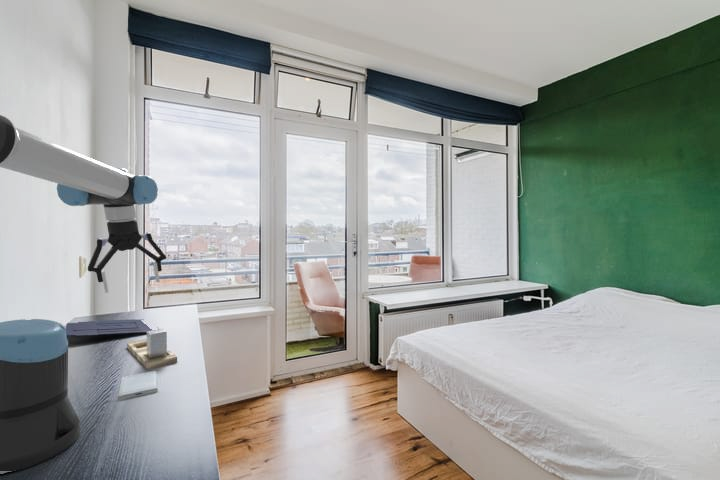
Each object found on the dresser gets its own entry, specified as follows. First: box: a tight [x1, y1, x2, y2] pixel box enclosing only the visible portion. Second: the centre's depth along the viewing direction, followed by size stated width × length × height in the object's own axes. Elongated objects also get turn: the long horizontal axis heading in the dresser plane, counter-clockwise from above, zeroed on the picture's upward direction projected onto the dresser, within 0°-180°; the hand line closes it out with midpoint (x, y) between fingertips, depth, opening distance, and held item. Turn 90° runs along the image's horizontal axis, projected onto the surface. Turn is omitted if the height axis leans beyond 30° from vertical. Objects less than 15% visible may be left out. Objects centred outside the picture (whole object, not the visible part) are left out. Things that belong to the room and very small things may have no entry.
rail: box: [126, 338, 178, 370], centre depth 109 cm, size 26×8×2 cm, turn 46°
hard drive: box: [117, 370, 159, 401], centre depth 88 cm, size 2×8×12 cm
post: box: [146, 328, 168, 360], centre depth 104 cm, size 4×4×9 cm
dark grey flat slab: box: [65, 319, 152, 336], centre depth 135 cm, size 24×30×4 cm
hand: (133, 286), depth 105 cm, fingers open, 13 cm apart
